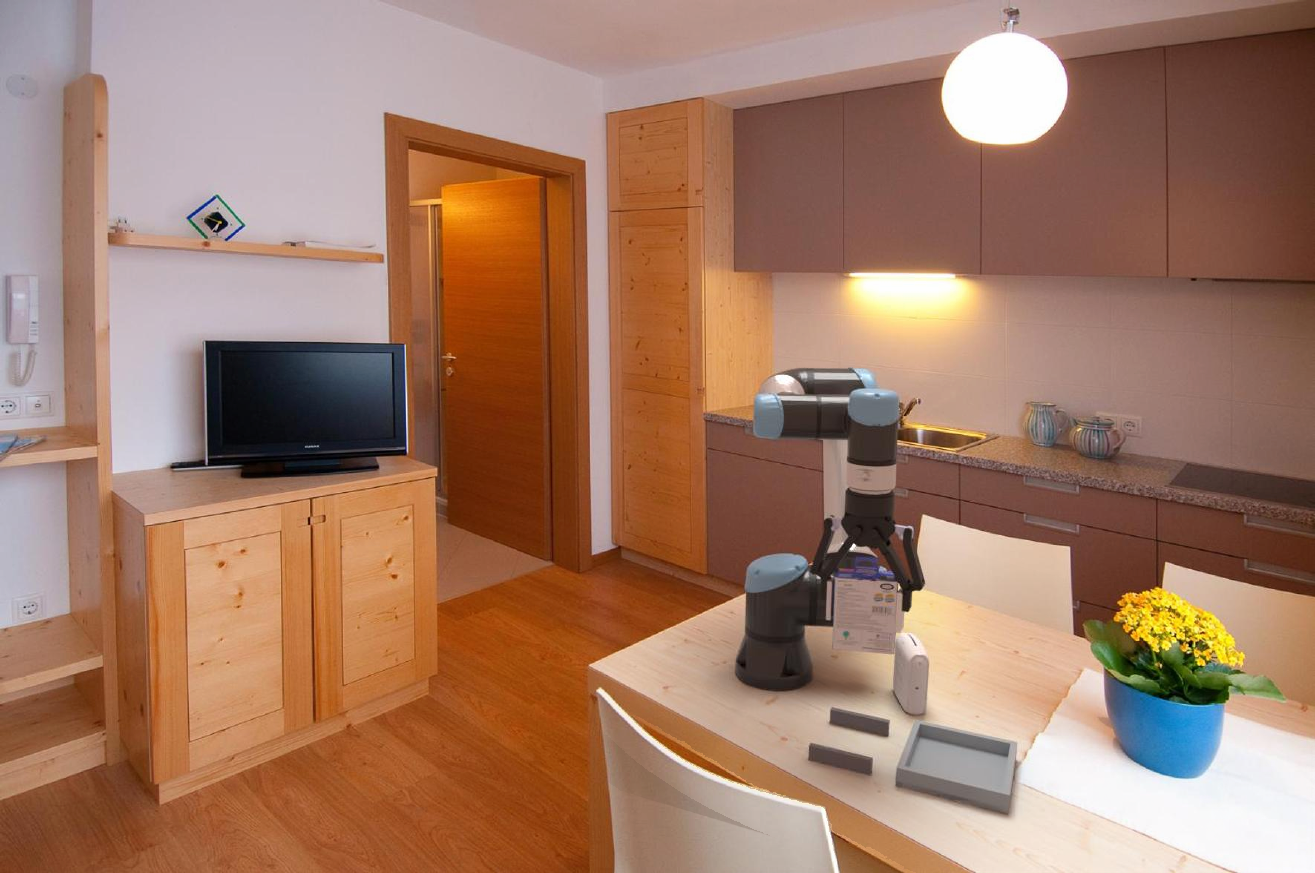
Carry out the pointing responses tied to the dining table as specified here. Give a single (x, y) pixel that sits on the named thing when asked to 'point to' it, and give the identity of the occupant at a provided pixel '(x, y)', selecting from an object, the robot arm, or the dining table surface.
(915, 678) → the photo printer
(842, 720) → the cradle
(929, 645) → the dining table surface
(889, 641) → the ink cartridge box
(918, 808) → the dining table surface
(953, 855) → the dining table surface
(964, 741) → the tray
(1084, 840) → the dining table surface
